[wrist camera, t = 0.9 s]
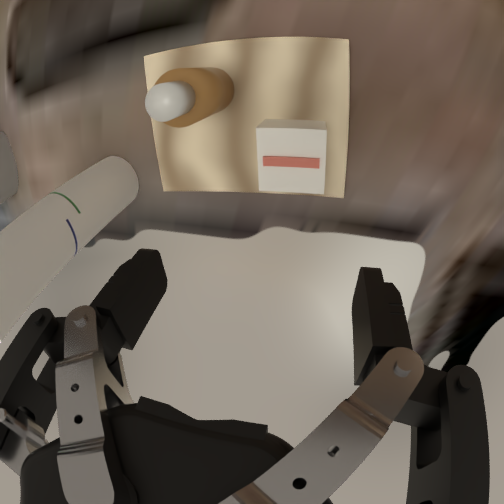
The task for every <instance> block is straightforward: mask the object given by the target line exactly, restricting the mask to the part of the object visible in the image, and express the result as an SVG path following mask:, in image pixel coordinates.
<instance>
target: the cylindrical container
mask: <svg viewBox="0 0 504 504" xmlns="http://www.w3.org/2000/svg"><path fill="white" fill-rule="evenodd" d="M138 190H139V182H138V177H137V174H136V172H135V170H134V169H133V167H132V166H131V165H130V163H129V162H127V161H126V160H125V159H123V158H121V157H118V156H109V157H106V158H105V159H103V160H101V161H99V162H98V163H96V164H94V165H93V166H91V167H89V168H88V169H86V170H84V171H83V172H81V173H80V174H78V175H76V176H75V177H73V178H72V179H70V180H69V181H67V182H66V183H64V184H63V185H61V186H60V187H58V188H57V189H55V190H54V191H52V192H51V193H50V194H48V195H47V196H45V197H44V198H43V199H41V200H40V201H38V202H37V203H36V204H34V205H33V206H32V207H30V208H29V209H28V210H26V211H25V212H24V213H23V214H21V215H20V216H19V217H18V218H16V219H15V220H14V221H13V222H11V223H10V224H9V225H8V226H7V227H5V228H4V229H3V230H2V231H1V232H0V343H1V342H2V341H3V340H4V338H5V336H7V334H8V333H9V332H10V330H11V329H12V327H13V326H14V325H15V324H16V322H17V321H18V320H19V319H20V317H21V316H22V315H23V314H24V312H25V311H26V310H27V309H28V307H29V306H30V305H31V304H32V303H33V301H34V300H35V299H36V298H37V297H38V295H39V294H40V293H41V292H42V290H44V288H45V287H46V286H47V285H48V284H49V283H50V282H51V281H52V279H53V278H54V277H55V276H56V275H57V274H58V273H59V272H60V271H61V270H62V269H63V268H64V267H65V265H66V264H67V263H68V262H69V261H70V260H71V259H72V258H73V257H74V256H75V255H76V254H77V253H78V252H79V251H80V250H81V249H82V248H83V247H84V246H85V245H86V244H87V243H88V242H89V241H90V240H91V239H92V238H93V237H94V236H95V235H96V234H97V233H98V232H99V231H100V230H101V229H102V228H104V227H105V226H106V225H107V224H108V223H109V222H110V221H111V220H112V219H113V218H114V217H115V216H117V215H118V214H119V213H120V212H121V211H122V210H123V209H124V208H125V207H127V206H128V205H129V204H130V203H131V202H132V201H133V200H134V199H135V198H136V196H137V194H138Z"/></svg>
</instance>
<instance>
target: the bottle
mask: <svg viewBox="0 0 504 504" xmlns="http://www.w3.org/2000/svg"><path fill="white" fill-rule="evenodd" d="M233 96H234V84H233V81H232V79H231V77H230V76H229V75H228V74H227V73H226V72H225V71H223V70H221V69H219V68H214V67H198V68H177V69H172V70H170V71H167V72H166V73H164V74H163V75H162V76H160V77H159V79H158V80H157V81H156V83H155V85H154V86H153V87H152V88H151V89H150V90H149V91H148V93H147V95H146V99H145V106H146V110H147V112H148V114H149V115H150V116H151V117H152V118H153V119H154V120H156V121H160V122H163V123H165V124H167V125H169V126H171V127H177V128H182V127H187V126H190V125H192V124H194V123H196V122H198V121H200V120H203V119H205V118H207V117H209V116H211V115H213V114H215V113H218V112H220V111H222V110H224V109H225V108H226V107H227V106H228V105H229V104H230V103H231V101H232V99H233Z"/></svg>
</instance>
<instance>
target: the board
mask: <svg viewBox="0 0 504 504" xmlns="http://www.w3.org/2000/svg"><path fill="white" fill-rule="evenodd" d="M144 63H145V73H146V82H147V90H148V91H149V90H150V89H151V88H152V87H153V86H154V85H155V83H156V81H157V80H158V79H159V77H160V76H162V75H163V74H164V73H166V72H167V71H170V70H172V69H177V68H198V67H214V68H219V69H221V70H223V71H225V72H226V73H227V74H228V75H229V76H230V77H231V79H232V81H233V84H234V96H233V99H232V101H231V103H230V104H229V105H228V106H227V107H226V108H225V109H224V110H222V111H220V112H218V113H215V114H213V115H211V116H209V117H207V118H205V119H203V120H200V121H198V122H196V123H194V124H192V125H190V126H187V127H182V128H177V127H171V126H169V125H167V124H165V123H163V122H160V121H156V120H154V119H153V118H152V117H151V120H152V127H153V133H154V140H155V146H156V152H157V157H158V163H159V169H160V174H161V179H162V185H163V190H164V191H223V192H256V193H278V194H296V195H312V196H325V197H338V198H344V187H345V176H346V163H347V148H348V128H349V91H350V68H349V40H348V39H337V38H321V37H264V38H248V39H237V40H227V41H219V42H212V43H205V44H199V45H193V46H187V47H182V48H177V49H172V50H168V51H163V52H159V53H155V54H151V55H147V56H144ZM265 119H291V120H315V121H325V122H326V128H327V141H326V167H325V186H324V194H310V193H294V192H276V191H259V181H258V160H257V140H256V127H257V126H258V125H260V124H261V123H262V122H263V121H264V120H265Z"/></svg>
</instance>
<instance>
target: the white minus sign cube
mask: <svg viewBox="0 0 504 504" xmlns="http://www.w3.org/2000/svg"><path fill="white" fill-rule="evenodd" d="M256 140H257V160H258V181H259V191H276V192H294V193H310V194H324V186H325V167H326V141H327V128H326V122H325V121H315V120H291V119H265V120H264V121H263V122H262V123H261V124H260V125H258V126H257V127H256Z"/></svg>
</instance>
